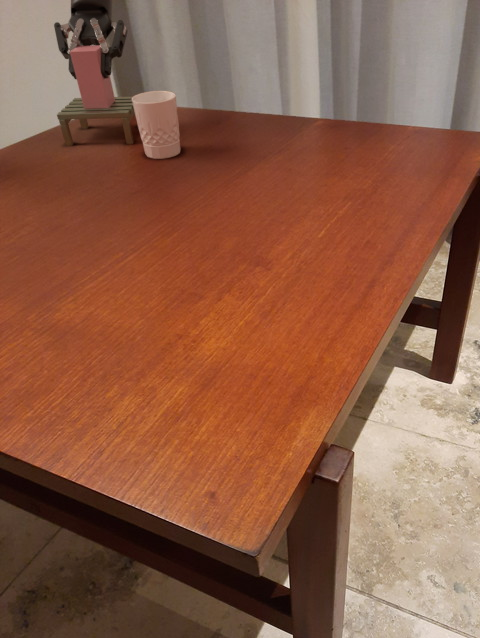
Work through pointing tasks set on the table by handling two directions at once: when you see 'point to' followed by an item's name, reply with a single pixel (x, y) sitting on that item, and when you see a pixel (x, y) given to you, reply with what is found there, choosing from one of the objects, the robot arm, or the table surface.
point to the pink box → (92, 77)
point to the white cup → (158, 123)
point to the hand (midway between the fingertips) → (90, 76)
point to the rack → (97, 116)
